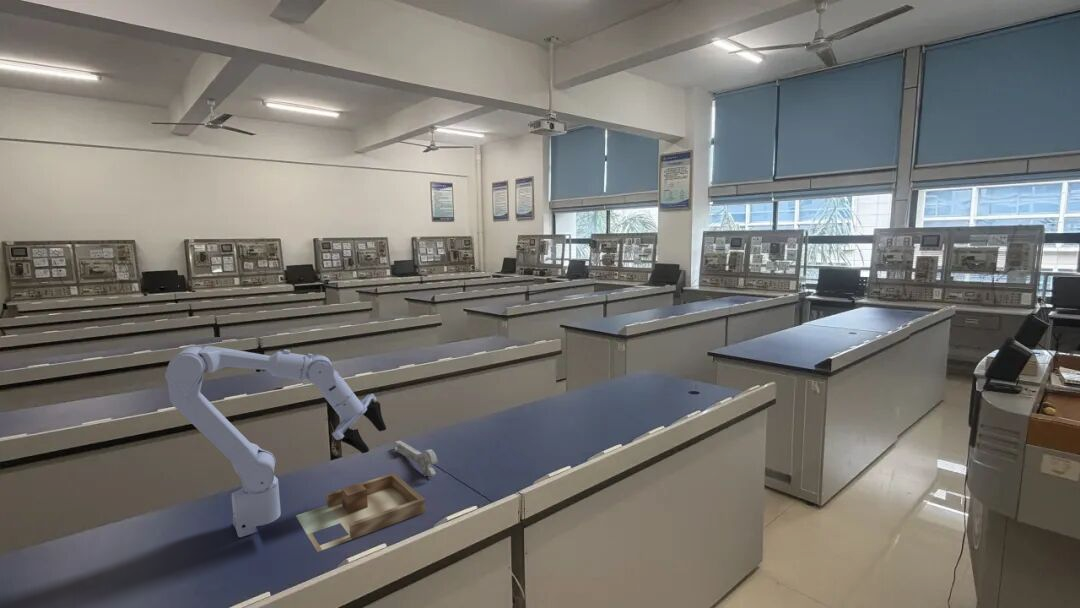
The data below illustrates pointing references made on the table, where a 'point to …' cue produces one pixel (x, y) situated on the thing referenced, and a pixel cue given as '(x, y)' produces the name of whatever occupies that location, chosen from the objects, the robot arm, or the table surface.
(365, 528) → the cubby base
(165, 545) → the table surface
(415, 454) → the wrench
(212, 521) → the table surface
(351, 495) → the walnut block
